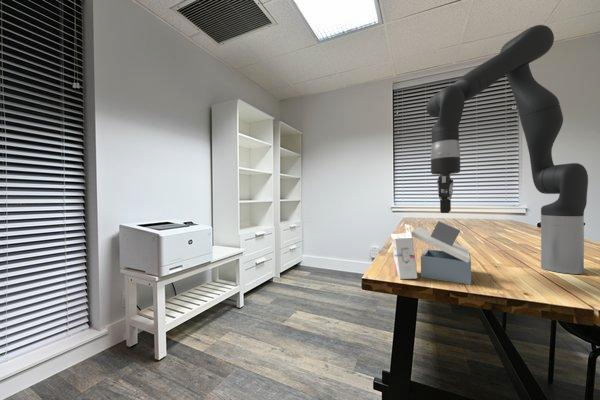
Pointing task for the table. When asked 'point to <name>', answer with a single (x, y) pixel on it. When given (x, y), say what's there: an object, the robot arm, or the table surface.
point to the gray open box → (445, 267)
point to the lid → (443, 240)
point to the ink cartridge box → (404, 254)
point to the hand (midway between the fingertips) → (445, 212)
